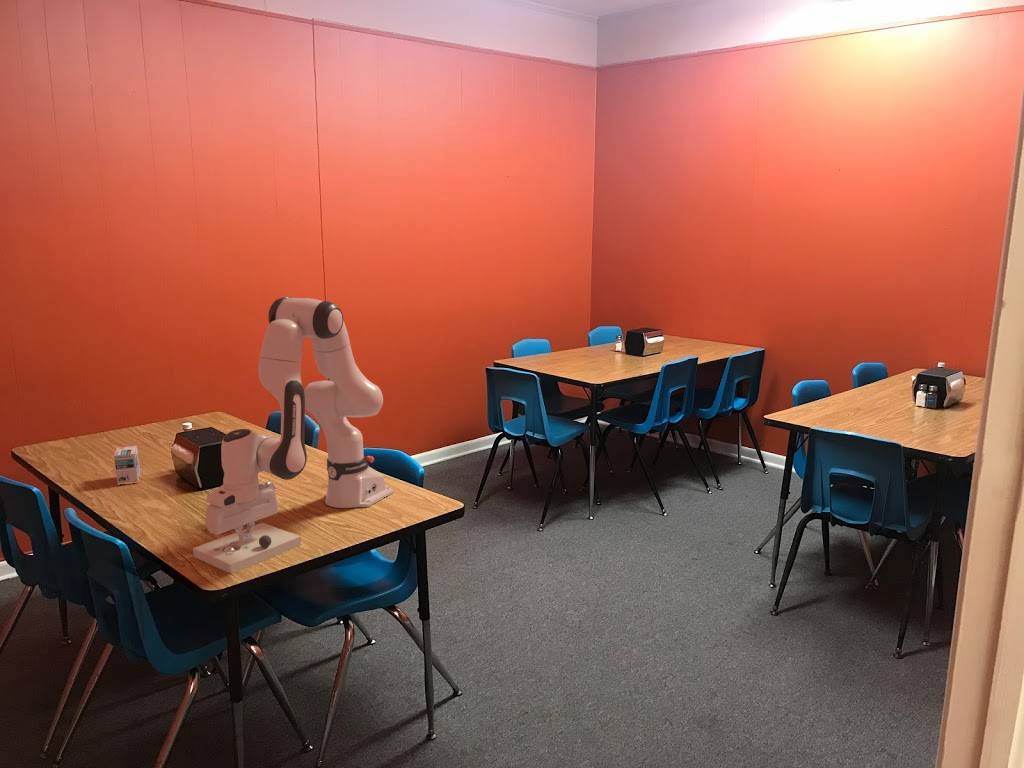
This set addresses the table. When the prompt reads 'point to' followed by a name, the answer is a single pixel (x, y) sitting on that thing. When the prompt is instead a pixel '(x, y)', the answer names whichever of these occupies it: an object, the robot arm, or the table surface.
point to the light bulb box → (127, 464)
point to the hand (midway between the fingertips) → (245, 538)
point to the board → (246, 548)
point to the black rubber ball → (265, 541)
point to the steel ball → (229, 549)
